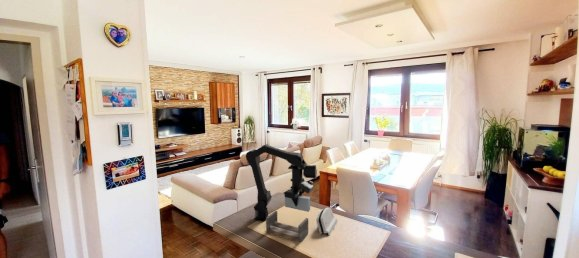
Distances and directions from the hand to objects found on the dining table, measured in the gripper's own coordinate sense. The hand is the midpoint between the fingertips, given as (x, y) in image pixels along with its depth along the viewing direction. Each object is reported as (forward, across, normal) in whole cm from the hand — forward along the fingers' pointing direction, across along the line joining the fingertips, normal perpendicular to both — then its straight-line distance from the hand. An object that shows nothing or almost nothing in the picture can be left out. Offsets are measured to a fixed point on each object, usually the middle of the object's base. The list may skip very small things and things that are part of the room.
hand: (297, 205), depth 132 cm
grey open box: (+10, -12, 0) cm, 16 cm away
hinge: (+10, +3, -16) cm, 19 cm away
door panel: (+2, 0, 0) cm, 2 cm away
